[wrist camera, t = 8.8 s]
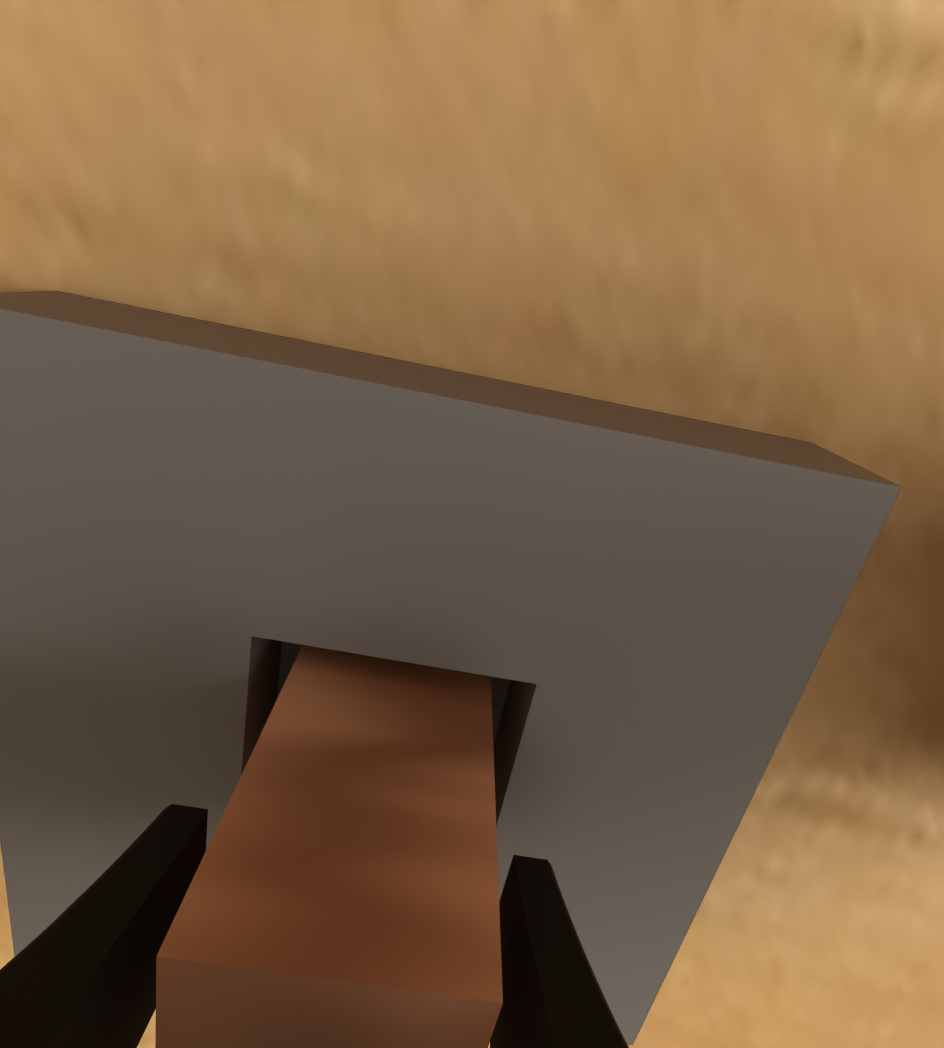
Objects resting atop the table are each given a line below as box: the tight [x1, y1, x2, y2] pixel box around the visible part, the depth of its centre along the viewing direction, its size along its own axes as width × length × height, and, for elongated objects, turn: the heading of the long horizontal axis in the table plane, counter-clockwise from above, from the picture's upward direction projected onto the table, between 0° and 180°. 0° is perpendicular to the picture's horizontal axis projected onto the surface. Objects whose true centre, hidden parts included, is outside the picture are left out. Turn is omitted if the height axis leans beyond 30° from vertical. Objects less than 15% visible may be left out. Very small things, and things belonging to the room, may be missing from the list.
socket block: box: [0, 291, 902, 1045], centre depth 14 cm, size 16×16×3 cm
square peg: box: [156, 645, 503, 1048], centre depth 12 cm, size 4×4×8 cm
